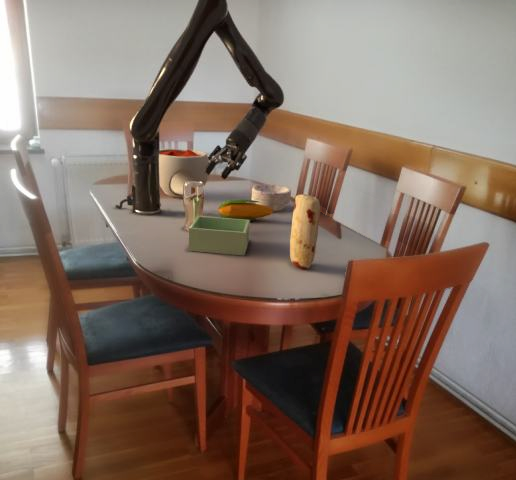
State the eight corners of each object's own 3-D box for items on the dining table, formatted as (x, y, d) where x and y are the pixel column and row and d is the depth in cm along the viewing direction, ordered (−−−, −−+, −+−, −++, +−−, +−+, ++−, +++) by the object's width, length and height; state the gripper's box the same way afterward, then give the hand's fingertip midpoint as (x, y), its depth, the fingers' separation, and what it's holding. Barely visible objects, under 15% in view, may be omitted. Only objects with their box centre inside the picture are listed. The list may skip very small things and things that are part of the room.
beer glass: (207, 228, 177) (208, 182, 170) (198, 233, 171) (199, 186, 164) (188, 225, 179) (188, 180, 171) (179, 230, 173) (179, 183, 166)
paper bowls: (262, 214, 197) (263, 193, 194) (244, 205, 209) (245, 184, 205) (296, 212, 204) (298, 191, 200) (277, 203, 216) (279, 183, 212)
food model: (282, 261, 151) (288, 191, 142) (302, 259, 154) (309, 190, 145) (299, 273, 144) (307, 199, 134) (320, 270, 147) (329, 198, 137)
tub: (188, 250, 155) (188, 228, 151) (197, 236, 167) (197, 215, 164) (244, 255, 154) (245, 232, 151) (248, 241, 167) (249, 220, 164)
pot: (220, 196, 220) (222, 151, 212) (184, 205, 202) (184, 157, 194) (176, 186, 231) (176, 144, 223) (138, 194, 213) (136, 148, 204)
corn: (217, 195, 186) (271, 196, 191) (216, 216, 190) (270, 216, 195) (220, 202, 180) (276, 202, 184) (219, 223, 184) (274, 223, 189)
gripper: (223, 125, 175) (194, 163, 174) (251, 131, 166) (221, 171, 164) (234, 142, 181) (207, 178, 179) (262, 148, 172) (233, 186, 170)
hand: (214, 175), depth 172 cm, fingers open, 8 cm apart
